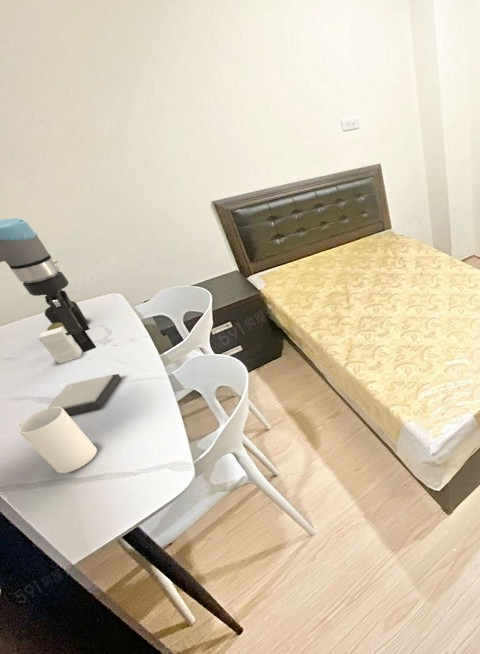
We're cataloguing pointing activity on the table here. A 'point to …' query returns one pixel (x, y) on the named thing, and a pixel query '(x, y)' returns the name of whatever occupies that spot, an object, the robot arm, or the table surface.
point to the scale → (86, 394)
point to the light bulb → (55, 326)
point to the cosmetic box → (60, 345)
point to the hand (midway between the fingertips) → (86, 339)
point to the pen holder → (54, 318)
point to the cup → (58, 439)
